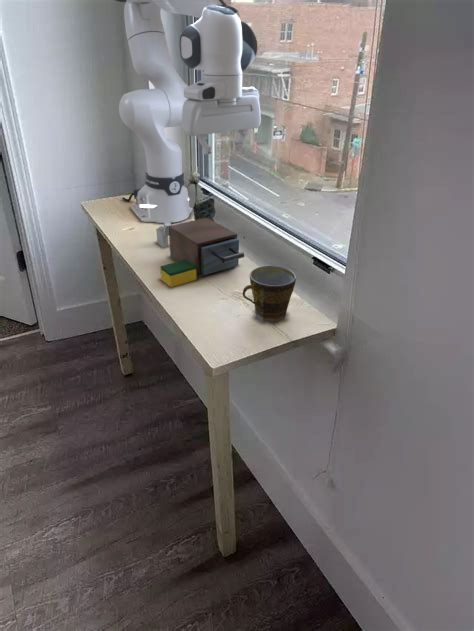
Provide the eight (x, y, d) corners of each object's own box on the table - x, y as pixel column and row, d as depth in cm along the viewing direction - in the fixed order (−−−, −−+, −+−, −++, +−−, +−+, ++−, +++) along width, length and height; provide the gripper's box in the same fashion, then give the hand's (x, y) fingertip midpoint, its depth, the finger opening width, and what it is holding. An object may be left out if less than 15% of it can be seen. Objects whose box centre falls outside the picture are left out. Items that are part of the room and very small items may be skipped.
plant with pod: (221, 237, 153) (221, 170, 143) (185, 242, 150) (182, 173, 140) (212, 228, 160) (212, 163, 150) (177, 232, 156) (175, 166, 146)
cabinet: (236, 265, 136) (237, 233, 132) (198, 276, 130) (197, 243, 126) (207, 247, 146) (206, 217, 142) (170, 257, 140) (168, 226, 136)
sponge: (161, 279, 128) (160, 265, 126) (186, 272, 132) (185, 259, 130) (170, 287, 125) (170, 273, 123) (196, 279, 129) (196, 266, 127)
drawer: (251, 273, 130) (252, 246, 127) (216, 283, 125) (216, 256, 121) (210, 248, 144) (210, 223, 140) (177, 257, 138) (175, 231, 134)
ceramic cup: (273, 300, 120) (275, 261, 115) (302, 318, 113) (306, 277, 108) (228, 316, 113) (229, 276, 108) (256, 336, 106) (258, 294, 101)
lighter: (156, 242, 149) (155, 216, 145) (162, 241, 150) (160, 215, 146) (167, 251, 144) (166, 224, 140) (173, 249, 145) (171, 223, 141)
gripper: (250, 84, 123) (250, 144, 130) (177, 89, 112) (180, 154, 119) (267, 87, 118) (265, 148, 125) (191, 92, 108) (194, 159, 115)
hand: (223, 151), depth 122 cm, fingers open, 8 cm apart
